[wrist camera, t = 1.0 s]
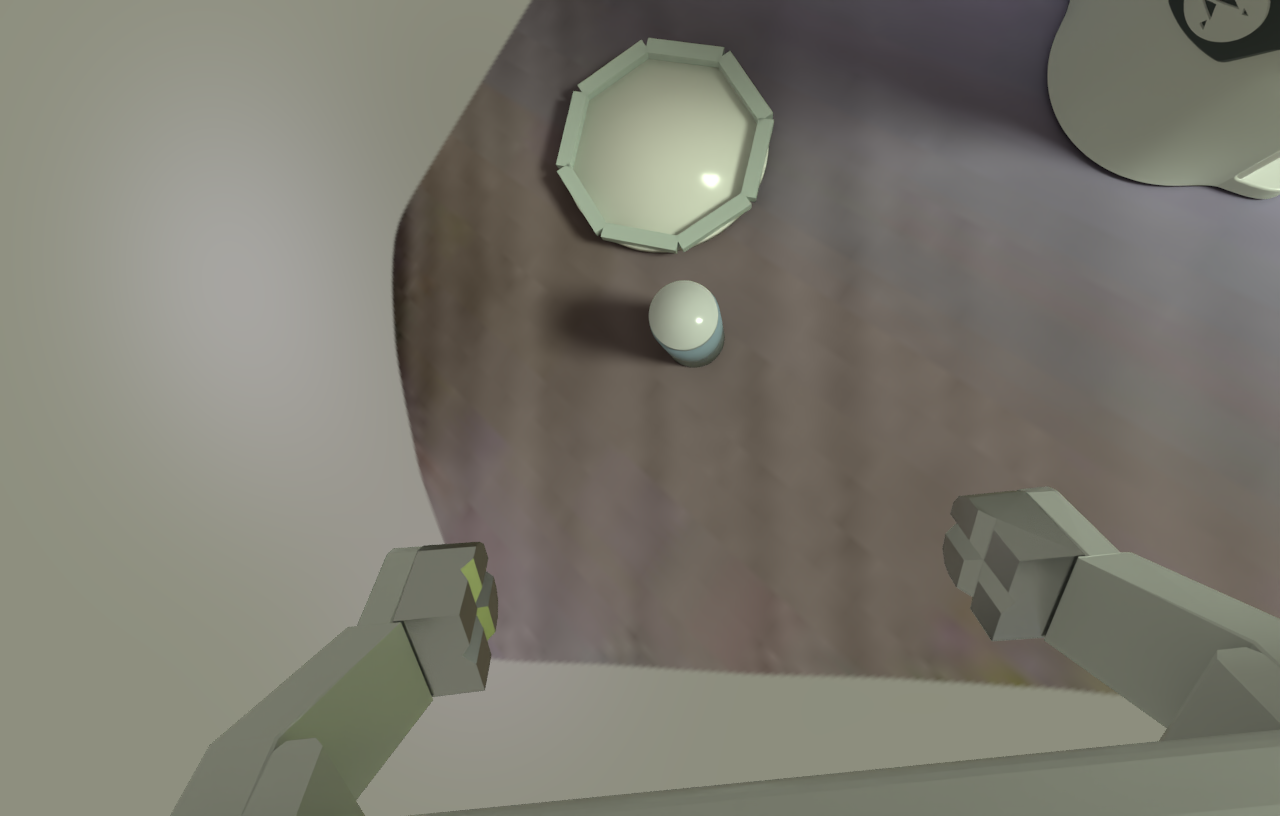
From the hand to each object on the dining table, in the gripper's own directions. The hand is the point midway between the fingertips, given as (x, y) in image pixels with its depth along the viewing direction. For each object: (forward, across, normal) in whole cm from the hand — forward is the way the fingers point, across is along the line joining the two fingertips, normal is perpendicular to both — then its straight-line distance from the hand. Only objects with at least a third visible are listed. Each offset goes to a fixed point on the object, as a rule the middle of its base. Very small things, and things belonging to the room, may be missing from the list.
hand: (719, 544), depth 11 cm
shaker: (+30, -3, +10) cm, 32 cm away
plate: (+37, -2, 0) cm, 37 cm away
